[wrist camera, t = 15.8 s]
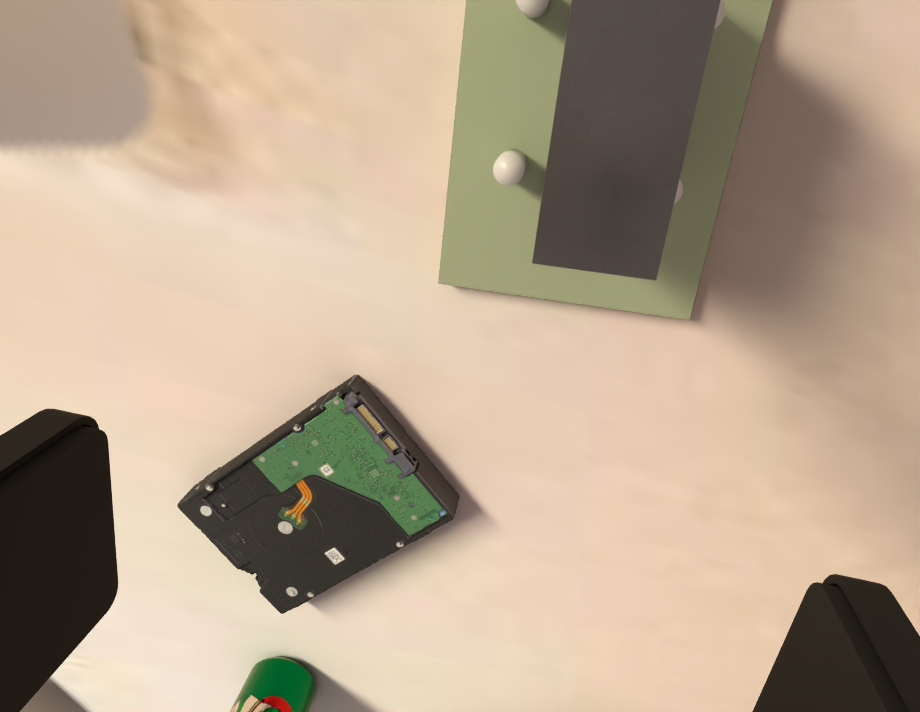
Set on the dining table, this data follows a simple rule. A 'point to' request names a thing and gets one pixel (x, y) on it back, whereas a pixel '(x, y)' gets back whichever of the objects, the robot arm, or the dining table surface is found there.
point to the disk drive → (321, 497)
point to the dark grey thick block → (621, 132)
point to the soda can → (277, 688)
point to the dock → (526, 151)
